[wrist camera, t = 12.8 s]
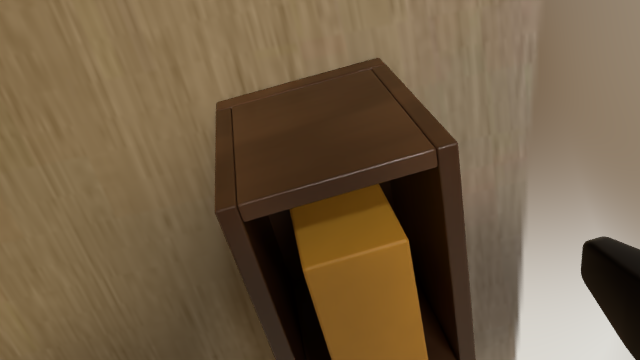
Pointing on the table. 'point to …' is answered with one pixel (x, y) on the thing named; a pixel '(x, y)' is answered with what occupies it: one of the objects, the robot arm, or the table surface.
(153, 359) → the table surface
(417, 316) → the block
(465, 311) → the holder
